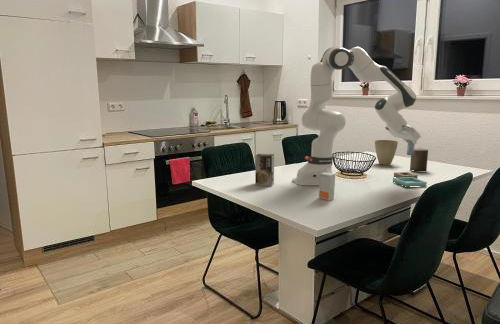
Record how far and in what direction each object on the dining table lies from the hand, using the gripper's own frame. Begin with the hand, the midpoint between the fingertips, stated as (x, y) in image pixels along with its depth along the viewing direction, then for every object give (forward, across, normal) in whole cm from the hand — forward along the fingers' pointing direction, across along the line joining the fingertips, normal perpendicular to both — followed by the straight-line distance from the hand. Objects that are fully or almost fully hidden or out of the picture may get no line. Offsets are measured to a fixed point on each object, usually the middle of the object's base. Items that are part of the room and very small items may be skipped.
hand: (412, 143), depth 207 cm
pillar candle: (+34, +27, -3) cm, 44 cm away
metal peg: (+4, 0, +5) cm, 6 cm away
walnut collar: (+18, +9, +13) cm, 24 cm away
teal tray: (+14, -3, +17) cm, 22 cm away
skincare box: (-24, -19, +56) cm, 64 cm away
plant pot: (+28, +50, +4) cm, 57 cm away
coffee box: (-39, +13, +71) cm, 82 cm away
